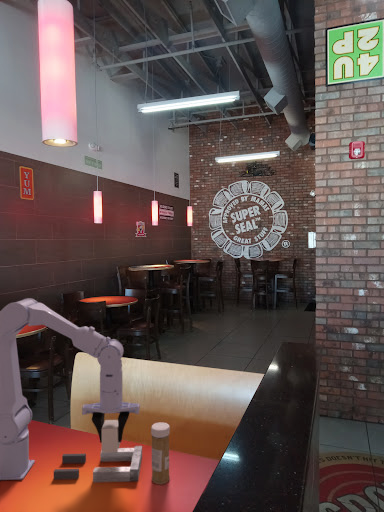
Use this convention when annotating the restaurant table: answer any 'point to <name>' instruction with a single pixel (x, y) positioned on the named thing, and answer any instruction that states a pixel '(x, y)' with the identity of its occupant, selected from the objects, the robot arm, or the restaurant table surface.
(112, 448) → the plug
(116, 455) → the block
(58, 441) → the restaurant table surface
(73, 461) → the pair of grey blocks
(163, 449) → the sprinkles bottle
